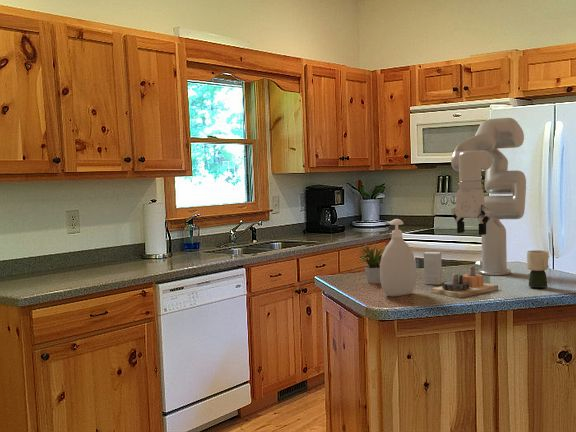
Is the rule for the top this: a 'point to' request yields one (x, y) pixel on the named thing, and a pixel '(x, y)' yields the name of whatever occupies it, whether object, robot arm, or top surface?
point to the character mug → (537, 267)
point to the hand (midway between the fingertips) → (471, 233)
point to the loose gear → (473, 280)
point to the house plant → (372, 264)
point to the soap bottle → (397, 265)
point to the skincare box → (432, 268)
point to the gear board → (465, 293)
